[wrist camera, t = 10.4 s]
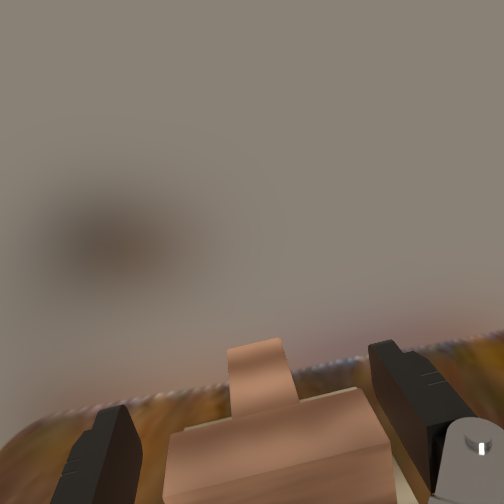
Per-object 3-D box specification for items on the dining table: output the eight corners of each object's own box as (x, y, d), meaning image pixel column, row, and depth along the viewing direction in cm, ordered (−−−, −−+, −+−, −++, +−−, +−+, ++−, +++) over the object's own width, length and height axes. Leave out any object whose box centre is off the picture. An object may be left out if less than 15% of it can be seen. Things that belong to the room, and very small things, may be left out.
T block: (403, 552, 28) (390, 441, 24) (203, 602, 27) (162, 497, 24) (340, 410, 41) (326, 325, 37) (205, 443, 40) (179, 360, 37)
